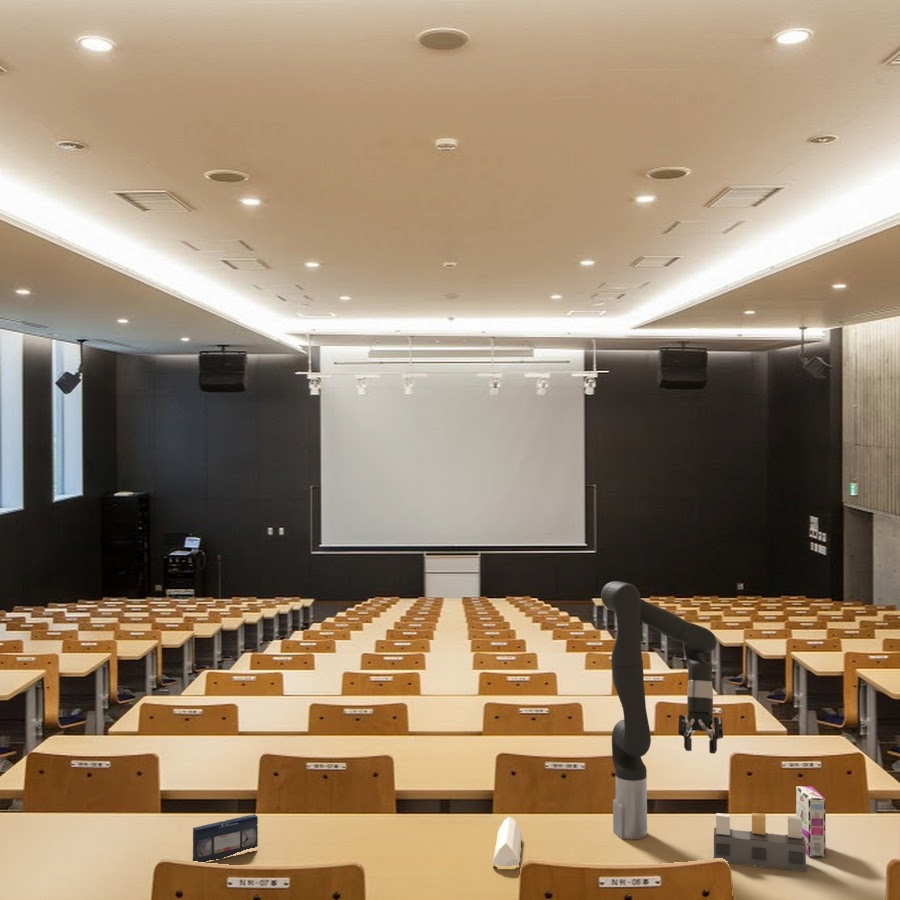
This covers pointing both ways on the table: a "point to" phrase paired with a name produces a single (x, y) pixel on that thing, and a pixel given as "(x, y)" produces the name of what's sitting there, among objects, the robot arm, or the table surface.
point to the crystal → (508, 844)
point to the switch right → (795, 827)
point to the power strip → (761, 849)
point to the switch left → (723, 824)
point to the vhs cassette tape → (225, 838)
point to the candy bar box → (812, 819)
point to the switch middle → (758, 823)
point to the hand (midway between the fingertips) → (700, 752)
